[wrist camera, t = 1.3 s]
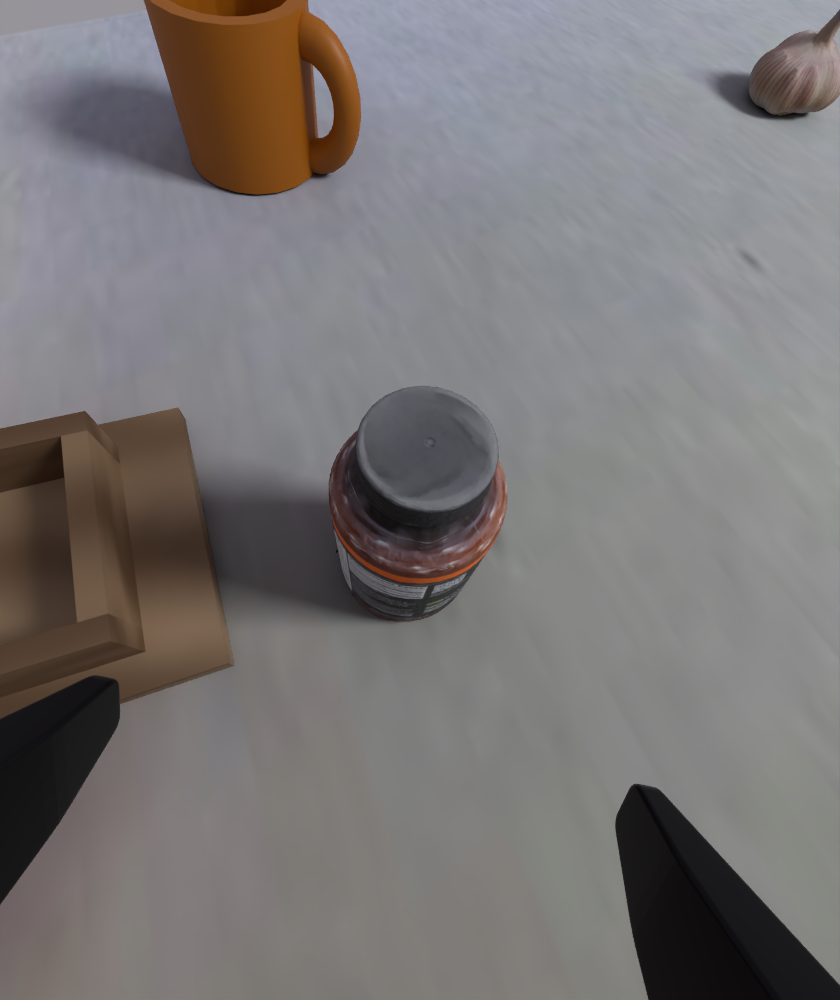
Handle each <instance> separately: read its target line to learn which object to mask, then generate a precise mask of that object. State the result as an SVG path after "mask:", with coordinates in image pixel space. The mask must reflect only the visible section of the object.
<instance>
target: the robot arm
mask: <svg viewBox="0 0 840 1000" xmlns="http://www.w3.org/2000/svg"><path fill="white" fill-rule="evenodd" d="M119 718H120V690H119V683H118V681H117V680H115V679H113V678H108V677H103V676H98V675H92V676H89V677H86V678H84V679H82V680H80V681H78V682H76V683H74V684H72V685H70V686H68V687H66V688H63V689H61V690H59V691H57V692H55V693H53V694H51V695H49V696H47V697H45V698H43V699H40V700H38V701H36V702H34V703H32V704H30V705H28V706H26V707H24V708H22V709H19V710H17V711H15V712H13V713H11V714H9V715H7V716H5V717H3V718H1V719H0V904H1V903H2V901H3V900H4V899H5V897H6V896H7V895H8V893H9V892H10V890H11V889H12V888H13V886H14V885H15V884H16V882H17V881H18V879H19V878H20V877H21V875H22V874H23V873H24V871H25V870H26V868H27V867H28V866H29V864H30V863H31V862H32V860H33V859H34V857H35V856H36V855H37V853H38V852H39V851H40V849H41V848H42V846H43V845H44V844H45V842H46V841H47V840H48V838H49V837H50V835H51V834H52V832H53V831H54V830H55V828H56V827H57V825H58V824H59V822H60V821H61V819H62V818H63V816H64V815H65V813H66V811H67V810H68V808H69V807H70V805H71V803H72V802H73V800H74V798H75V797H76V795H77V793H78V792H79V790H80V788H81V787H82V785H83V783H84V782H85V780H86V778H87V777H88V775H89V773H90V772H91V770H92V768H93V767H94V765H95V763H96V762H97V760H98V758H99V757H100V755H101V753H102V752H103V750H104V748H105V747H106V745H107V743H108V742H109V740H110V738H111V737H112V735H113V733H114V732H115V730H116V728H117V725H118V722H119ZM615 829H616V836H617V842H618V849H619V855H620V861H621V867H622V874H623V880H624V886H625V892H626V899H627V905H628V911H629V917H630V923H631V928H632V934H633V938H634V943H635V947H636V951H637V956H638V959H639V963H640V967H641V971H642V975H643V979H644V983H645V987H646V991H647V995H648V999H649V1000H840V985H839V984H838V983H837V982H836V981H835V979H834V978H833V977H832V976H831V975H830V974H829V973H828V972H827V971H826V970H825V969H824V967H823V966H822V965H821V964H820V963H819V962H818V961H817V960H816V959H815V958H814V957H813V956H812V954H811V953H810V952H809V951H808V950H807V949H806V948H805V947H804V946H803V945H802V944H801V942H800V941H799V940H798V939H797V938H796V937H795V936H794V935H793V934H792V933H791V932H790V931H789V929H788V928H787V927H786V926H785V925H784V924H783V923H782V922H781V921H780V920H779V919H778V918H777V916H776V915H775V914H774V913H773V912H772V911H771V910H770V909H769V908H768V907H767V906H766V904H765V903H764V902H763V901H762V900H761V899H760V898H759V897H758V896H757V895H756V894H755V893H754V891H753V890H752V889H751V888H750V887H749V886H748V885H747V884H746V883H745V882H744V881H743V880H742V878H741V877H740V876H739V875H738V874H737V873H736V872H735V871H734V870H733V869H732V868H731V866H730V865H729V864H728V863H727V862H726V861H725V860H724V859H723V858H722V857H721V856H720V855H719V853H718V852H717V851H716V850H715V849H714V848H713V847H712V846H711V845H710V844H709V843H708V842H707V840H706V839H705V838H704V837H703V836H702V835H701V834H700V833H699V832H698V831H697V830H696V828H695V827H694V826H693V825H692V824H691V823H690V822H689V821H688V820H687V819H686V818H685V817H684V815H683V814H682V813H681V812H680V811H679V810H678V809H677V808H676V807H675V806H674V805H673V803H672V802H671V801H670V800H669V799H668V798H667V797H666V796H665V795H664V794H663V793H662V792H661V791H660V790H659V789H657V788H655V787H651V786H646V785H641V784H634V785H632V786H631V787H630V789H629V791H628V793H627V795H626V797H625V799H624V801H623V803H622V805H621V807H620V809H619V811H618V814H617V817H616V823H615Z"/></svg>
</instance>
